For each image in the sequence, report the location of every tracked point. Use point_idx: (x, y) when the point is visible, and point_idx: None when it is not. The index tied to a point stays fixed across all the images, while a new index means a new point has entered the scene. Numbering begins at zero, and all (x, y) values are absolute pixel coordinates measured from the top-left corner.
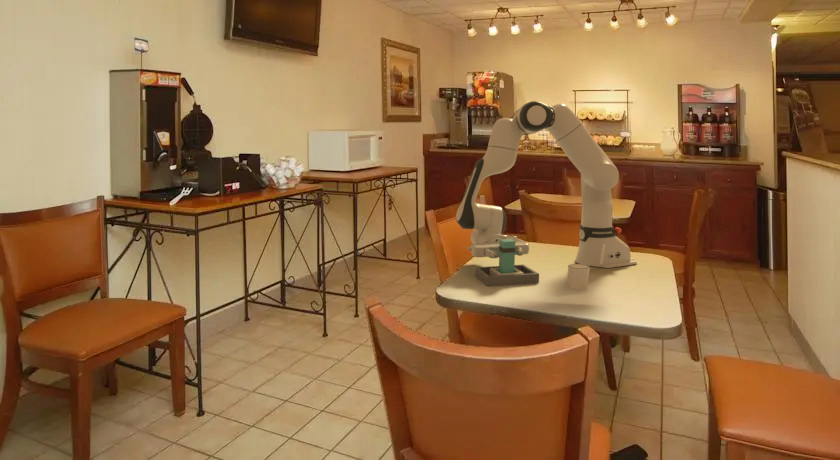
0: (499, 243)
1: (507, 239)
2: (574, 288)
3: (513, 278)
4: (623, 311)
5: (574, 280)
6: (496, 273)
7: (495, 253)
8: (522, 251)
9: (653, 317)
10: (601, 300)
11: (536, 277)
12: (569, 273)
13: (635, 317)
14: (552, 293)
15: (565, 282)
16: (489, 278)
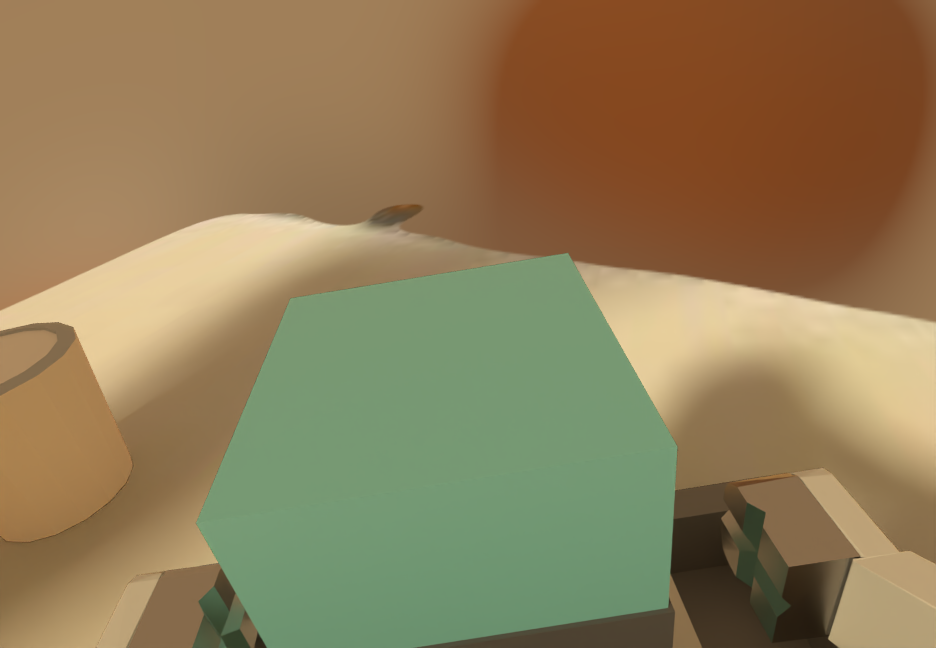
0: (669, 548)
1: (364, 446)
2: (128, 453)
3: None
4: (219, 265)
5: (108, 407)
6: (692, 625)
7: (748, 483)
8: (155, 572)
9: (187, 245)
10: (182, 328)
11: None
12: (85, 397)
13: (233, 242)
14: None
15: (18, 606)
16: None
